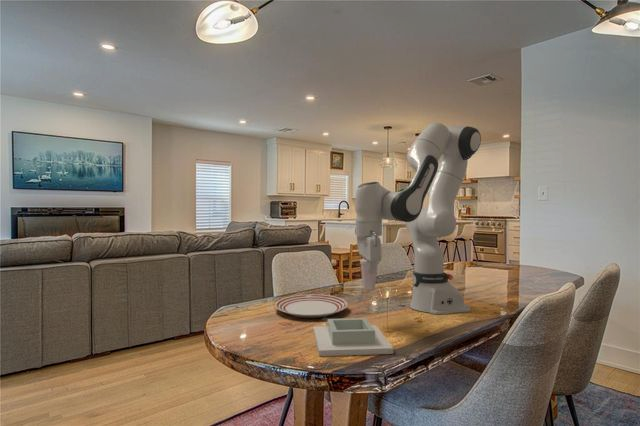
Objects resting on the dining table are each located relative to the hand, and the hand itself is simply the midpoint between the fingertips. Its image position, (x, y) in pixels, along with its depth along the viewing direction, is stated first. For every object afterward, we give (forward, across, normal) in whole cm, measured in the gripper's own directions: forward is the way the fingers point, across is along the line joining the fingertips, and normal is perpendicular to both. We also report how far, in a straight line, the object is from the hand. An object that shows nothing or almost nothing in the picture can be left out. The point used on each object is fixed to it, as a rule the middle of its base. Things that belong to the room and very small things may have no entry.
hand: (369, 271), depth 126 cm
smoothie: (+6, 0, 0) cm, 6 cm away
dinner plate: (+18, +18, +19) cm, 31 cm away
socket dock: (+18, -16, +10) cm, 26 cm away
